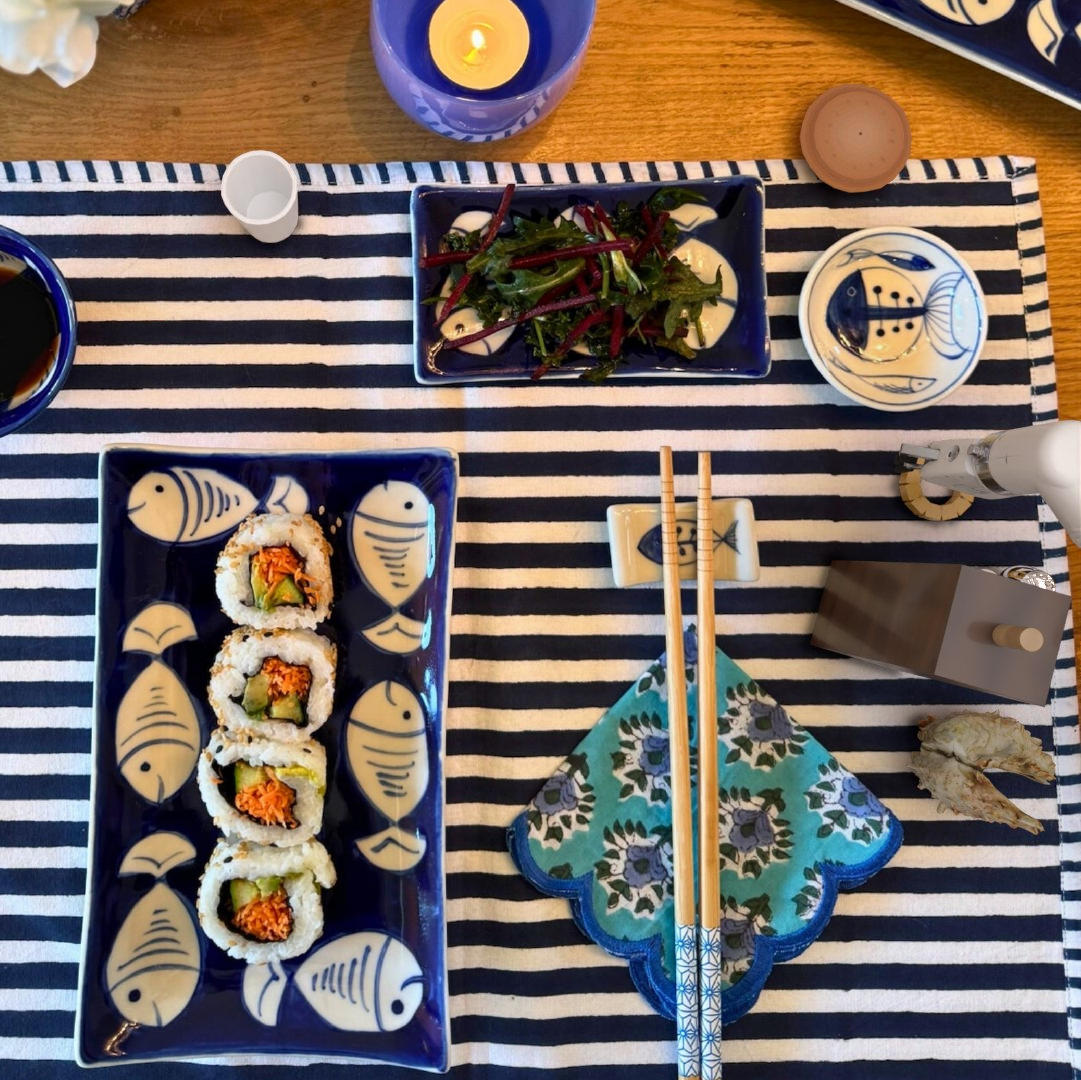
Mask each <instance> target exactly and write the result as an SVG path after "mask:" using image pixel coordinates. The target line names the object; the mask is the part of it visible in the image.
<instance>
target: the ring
mask: <svg viewBox="0 0 1081 1080" xmlns="http://www.w3.org/2000/svg"><path fill="white" fill-rule="evenodd" d="M924 461H925V459H922V458H918V460H917V464H923V465H924ZM920 473H921V470H917V469H914V471H913V472H906V473H900V476H899V481H898V485H899V484H900V485H899V486H898V489H899V492H900V495H901V500H902V502H904V505H905V506H906V507H907V508H908V509H909V510H910V511H911V512H912V513H913V514H914V515H915V516H917V517H919V518H922V519H925V520H928V521H932V522H943V521H947V520H952V519H955V518H959V516H962V515H963V514H964V513H965V512H966V511H967V510H968V509H970V507H971V506H972V503H974V500H975V496H972V495H969V494H965V493H962V492H959V491H955V490H953V491H952V496H951V497H950V498H949V499H948V500H947V501H946V502H945V503H942V504H936V503H933V502H930V501H929V500H928V499H927V497H926V496H924V494H923V491H922V487H921V482H922V478H921V476H920Z"/></svg>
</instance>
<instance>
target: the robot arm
mask: <svg viewBox="0 0 1081 1080" xmlns="http://www.w3.org/2000/svg"><path fill="white" fill-rule="evenodd" d="M918 458H922V459H925V461H924V465H923V464H917V460H918ZM893 464H894V465H895V467H894V473H896V474H901V473H906V472H913V471H914V469H917V470H921V473H920V476H921V480H923V481H925V482H927V483H929V484H933V485H936V486H939V487H942V488H946V489H948V490H952V491H954V490H955V491H959V492H962V493H965V494H969V495H972V496H974V497H976V498H980V499H985V500H1000V499H1008V498H1014V497H1020V496H1023V495H1037V494H1039V496H1040V497H1041V498H1042V501H1044V502H1045V504H1046V505H1047V506H1048V507H1049V509H1050V511H1051V512H1052V513H1053V515H1054V516H1055V517H1056V519H1057V520H1058V522H1059V524H1060V525H1061V526H1062V528H1063V529H1064V530H1065V531H1066V532H1067V535H1068V538H1069V539H1070V540H1071V541H1072V543H1074V544H1075V545H1076V546H1077V547H1078V548H1079V549H1081V420H1076V419H1065V420H1064V419H1063V420H1057V421H1051V422H1046V423H1040V424H1034V425H1028V426H1024V427H1018V428H1011V429H1005V430H1000V431H995V432H992V433H990V434H988V435H986V436H984V437H975V438H974V437H973V438H972V437H970V438H969V437H968V438H966V437H965V438H952V439H943V440H939V441H934V442H932V443H930V444H928V445H927V447H925V446H919V445H915V444H910V443H904V442H902V443H901V445H900V448H899V452H897V453H896V454H895V456H894V459H893Z"/></svg>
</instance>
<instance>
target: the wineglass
mask: <svg viewBox="0 0 1081 1080" xmlns="http://www.w3.org/2000/svg"><path fill="white" fill-rule="evenodd" d="M980 570H983V571H987V572H990V573H994V574H997V573H996V572H995V571H994V570H992V569H988V568H982V569H980ZM998 575H1000V576H1004V577H1007V578H1010V579H1014V580H1017V581H1021V582H1024V583H1027V584H1031V585H1034V586H1038V587H1041V588H1044V589H1048V590H1051V591H1055V592H1057V589H1056V587H1057V586H1056V583H1055V581H1054V579H1053V578H1052V577H1051V575H1050V574H1049V573H1047V572H1046V571H1044V570H1042V569H1039V568H1037V567H1034V566H1030V565H1025V564H1024V565H1022V564H1017V565H1013V566H1009V567H1007V568H1005V569H1003V570H1002V571H1001V572H1000V573H999V574H998Z"/></svg>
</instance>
